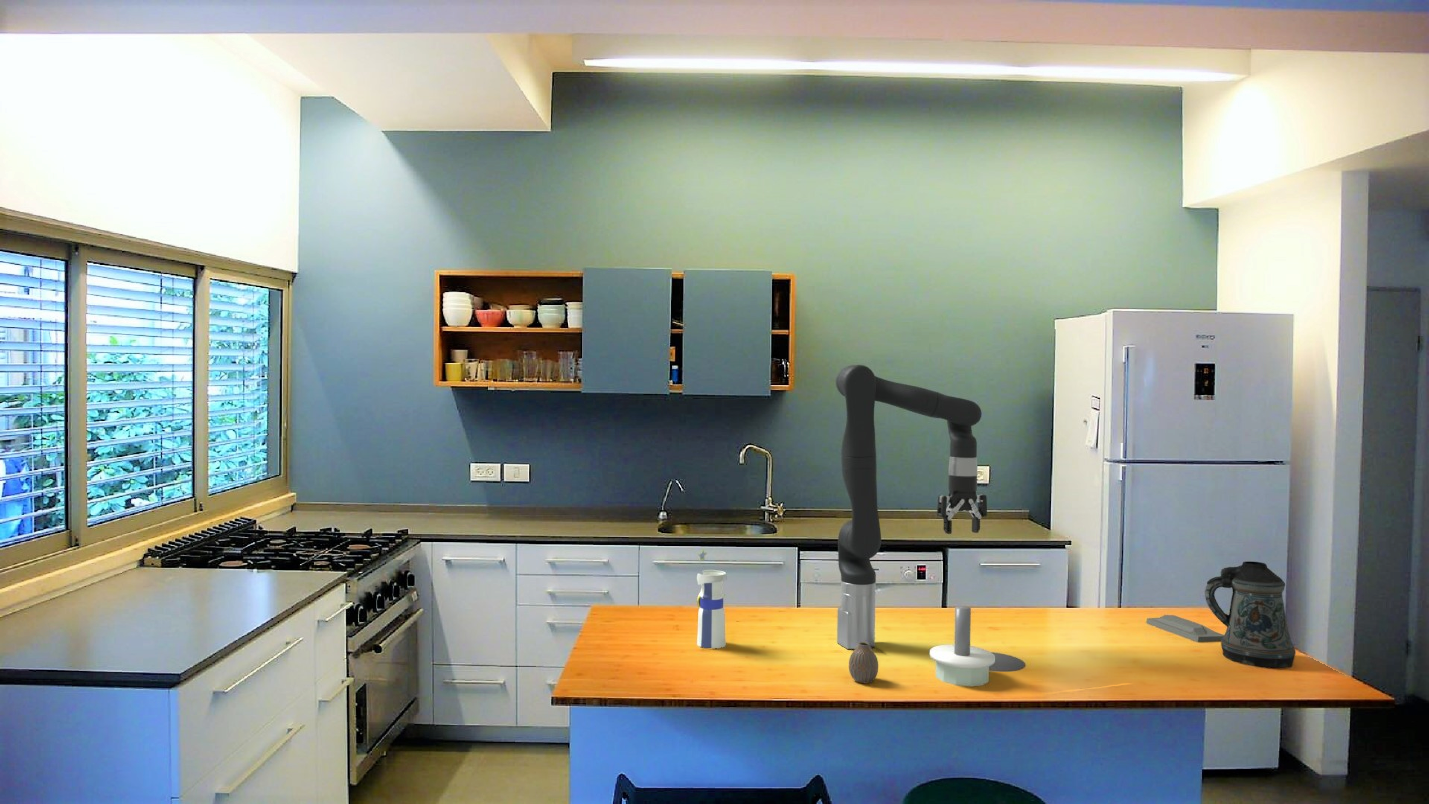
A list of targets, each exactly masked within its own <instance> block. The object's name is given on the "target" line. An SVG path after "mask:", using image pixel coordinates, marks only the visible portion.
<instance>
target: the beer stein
mask: <svg viewBox="0 0 1429 804" xmlns="http://www.w3.org/2000/svg"><path fill="white" fill-rule="evenodd" d="M1206 584H1207V585H1206V586H1205V589H1204V597H1205V601H1206V604H1207V606H1208V608H1209V609H1210V611H1211V612H1212V614H1213V615H1214V616H1215V617H1216V618H1217V619H1218V620H1219V621H1220V622H1221V623H1222V624H1223V625H1225V627H1226V629H1225V631H1224V632H1225V633H1224V634H1223V635H1224V637H1223V639H1222V640H1221V641H1220V646H1221V650H1222V655H1223V657H1225V659H1228V660H1230V661H1232V662H1236V663H1238V664H1241V665H1243V666H1249V667H1255V668H1262V669H1272V670H1274V669H1277V670H1279V669H1284V670H1285V669H1287V668H1292V666H1293V664H1294V661H1295V657H1296V653H1297V652H1296V649H1295V647H1294V646H1295V645H1294V644H1293V642H1292V639H1291V635H1290V630H1289V628H1288V623H1287V618H1286V617H1287V616H1286V610H1285V602H1284V599H1283V598H1284V597H1283V592H1284V590H1285V587H1286V583H1285V582H1284V580H1283V579H1282V577H1279V576H1278V575H1277V574H1276V573H1275V572H1273V571H1272V570H1271V569H1270V568H1268V566H1267V563H1265V562H1259V561H1249V560H1248V561H1242V564H1241V565H1238V566H1228V567H1224V568H1222V569H1221V570H1220V576H1214V577H1211V578H1210V579H1209V580H1208V581H1207V582H1206ZM1220 588H1224V589H1225V588H1226V589H1231V588H1232V595H1231V599H1230V606H1229V613H1228V614H1227V613H1225V612H1224V609H1222V608H1221V607H1220V605H1219V603H1218V601H1217V600H1216V596H1215V593H1216V591H1217V589H1220Z"/></svg>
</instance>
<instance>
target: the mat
mask: <svg viewBox="0 0 1429 804" xmlns="http://www.w3.org/2000/svg"><path fill="white" fill-rule="evenodd" d="M990 652H991V653H993V654H994V655H995V663H994V664H993V665H991V666H989V672H990V671H991V672H1002V673H1003V672H1005V673H1006V672H1016V671H1021V670H1023V669H1025V667H1026V662H1024V660H1022V659H1020V658H1018V657H1016V656H1014V655H1010V654H1006V653H1000V652H994V651H990Z"/></svg>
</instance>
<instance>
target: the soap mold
mask: <svg viewBox="0 0 1429 804" xmlns="http://www.w3.org/2000/svg"><path fill="white" fill-rule="evenodd" d="M1146 623H1147V624H1146ZM1145 624H1146V625H1149V626H1152V627H1154V626H1155V628H1158V629H1160V630H1163V631H1166V632H1168V633H1170V634H1171V633H1172V634H1174V635H1176V636H1179V637H1182V638H1184V639H1187V640H1190V641H1193V642H1195V643H1209V642H1210V643H1211V642H1221V640H1222V639H1223V637H1224V635H1225V634H1223V633H1219V632H1217V631H1214V630H1212V629H1211V628H1209V627H1207V626H1205V625H1203V624H1201V623H1198V622H1195V621H1191V620H1190V619H1186V618H1183V617H1180V616H1178V615H1174V614H1164V615H1162V616H1160V617H1149V618H1148V617H1147V618H1146V622H1145Z"/></svg>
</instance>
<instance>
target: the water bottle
mask: <svg viewBox="0 0 1429 804" xmlns="http://www.w3.org/2000/svg"><path fill="white" fill-rule="evenodd" d="M707 554H708V552H705V551H704V549H702V550H701V553H698V556H699V559H698V560H699V562H701V561H705V560H706V559H705V557H706V555H707ZM727 579H728V576H727V573H726V572H725V571H723V570H718V569H716V570H715V569H704V570H702V574H701V573H697V575H696V582H697V585H698V586H699V585H700V586H701V589H700V592H699V593H698V596H697V600H696V604H697V607H698V608H699V609H698V616H697V617H698V618H697V620H698V621H697V639H696V646H697V647H699V648H702V647H704V648H703V649H707V648H712V649H713V650H714V649H715V648H717V649H721V647H722V648H724V647H726V646H727V645H726V643H727V642H726V612H725V611H726V610H725V608H724V597H726V594H725V592H724V590H723V589H724V588H723V587H724V586H723V585H724V581H727ZM712 649H711V650H712ZM715 650H716V649H715Z"/></svg>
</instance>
